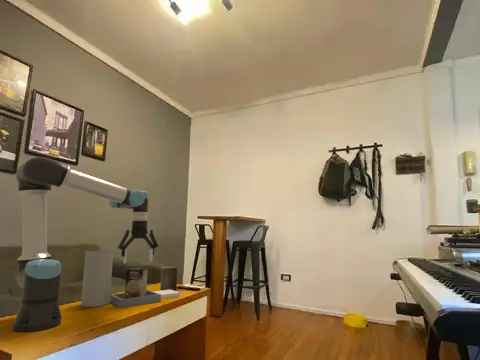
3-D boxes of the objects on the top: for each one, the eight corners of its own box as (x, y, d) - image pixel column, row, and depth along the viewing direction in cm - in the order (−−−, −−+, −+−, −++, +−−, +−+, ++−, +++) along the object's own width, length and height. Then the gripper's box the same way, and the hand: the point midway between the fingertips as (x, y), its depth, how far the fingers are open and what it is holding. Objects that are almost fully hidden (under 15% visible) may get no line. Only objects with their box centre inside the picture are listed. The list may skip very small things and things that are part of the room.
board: (159, 299, 159) (159, 295, 159) (149, 295, 168) (150, 291, 168) (179, 296, 166) (180, 292, 167) (169, 293, 175) (169, 289, 176)
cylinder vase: (111, 301, 154) (114, 250, 159) (107, 306, 143) (111, 251, 147) (84, 302, 151) (88, 250, 156) (78, 308, 139) (83, 252, 144)
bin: (120, 307, 141) (120, 299, 141) (109, 301, 153) (109, 294, 153) (160, 301, 153) (160, 294, 154) (147, 296, 165) (148, 289, 166)
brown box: (178, 291, 182) (179, 265, 185) (162, 292, 177) (164, 265, 180) (173, 288, 190) (174, 263, 193) (157, 290, 185) (159, 264, 188)
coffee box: (123, 303, 150) (125, 269, 153) (129, 300, 156) (131, 267, 159) (141, 303, 149) (143, 269, 152) (146, 300, 156) (148, 268, 158)
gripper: (117, 219, 149) (115, 264, 146) (165, 220, 165) (163, 261, 161) (113, 220, 155) (110, 263, 152) (159, 221, 171) (157, 260, 167)
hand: (137, 262), depth 156 cm, fingers open, 13 cm apart
